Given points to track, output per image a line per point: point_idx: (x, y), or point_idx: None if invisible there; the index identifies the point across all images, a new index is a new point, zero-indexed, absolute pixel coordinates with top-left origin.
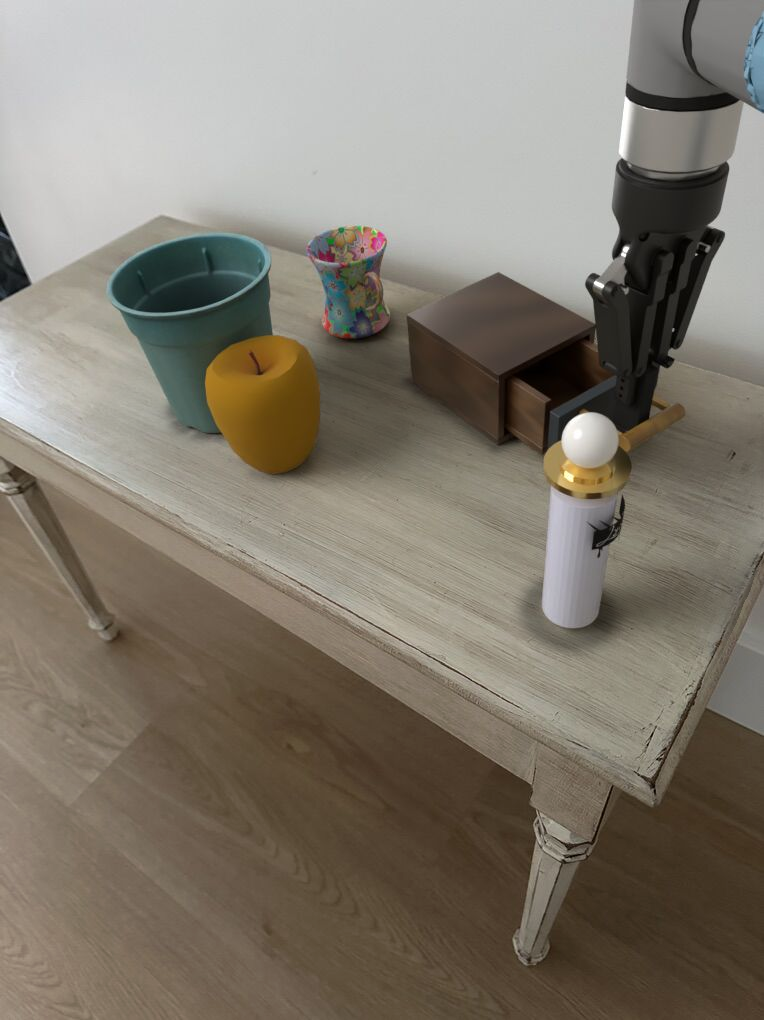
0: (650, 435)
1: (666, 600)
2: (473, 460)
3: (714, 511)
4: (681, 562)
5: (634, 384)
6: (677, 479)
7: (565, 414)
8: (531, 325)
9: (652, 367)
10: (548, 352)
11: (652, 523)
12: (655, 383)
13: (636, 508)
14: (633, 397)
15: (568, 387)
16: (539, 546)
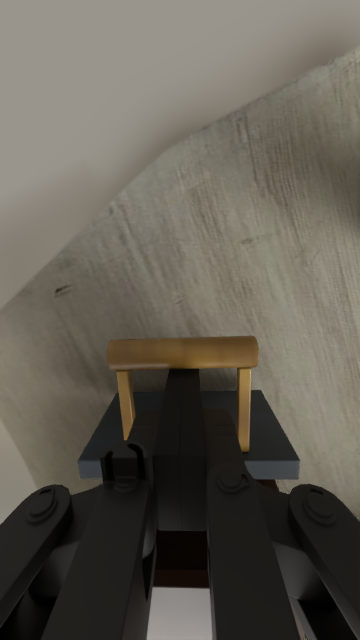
0: (202, 338)
1: (311, 159)
2: (299, 458)
3: (150, 233)
4: (248, 195)
5: (219, 446)
6: (144, 300)
7: (285, 459)
8: (166, 637)
9: (161, 467)
10: (191, 578)
11: (223, 265)
12: (159, 419)
13: (219, 295)
14: (210, 418)
15: None
16: (350, 318)
